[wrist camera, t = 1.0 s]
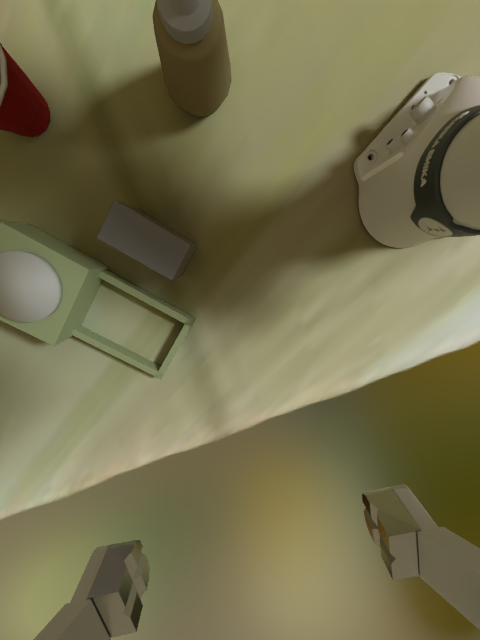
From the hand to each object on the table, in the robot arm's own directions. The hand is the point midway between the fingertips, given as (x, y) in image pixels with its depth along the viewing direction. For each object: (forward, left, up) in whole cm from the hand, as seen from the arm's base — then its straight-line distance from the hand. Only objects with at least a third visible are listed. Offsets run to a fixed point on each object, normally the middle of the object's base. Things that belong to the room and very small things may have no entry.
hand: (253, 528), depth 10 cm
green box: (+9, -20, -36) cm, 42 cm away
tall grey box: (-4, -15, -36) cm, 39 cm away
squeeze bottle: (-24, -19, -36) cm, 47 cm away
